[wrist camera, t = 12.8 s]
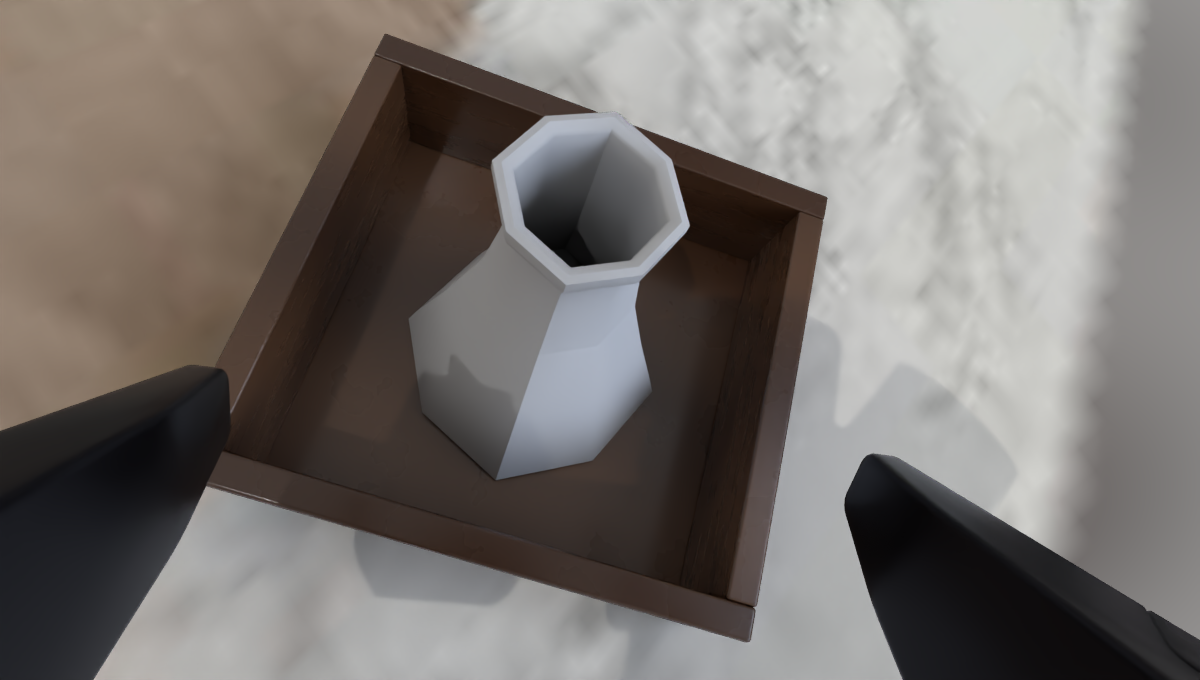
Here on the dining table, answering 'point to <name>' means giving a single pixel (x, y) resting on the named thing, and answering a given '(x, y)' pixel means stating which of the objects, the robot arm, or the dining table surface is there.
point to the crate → (389, 381)
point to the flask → (552, 299)
